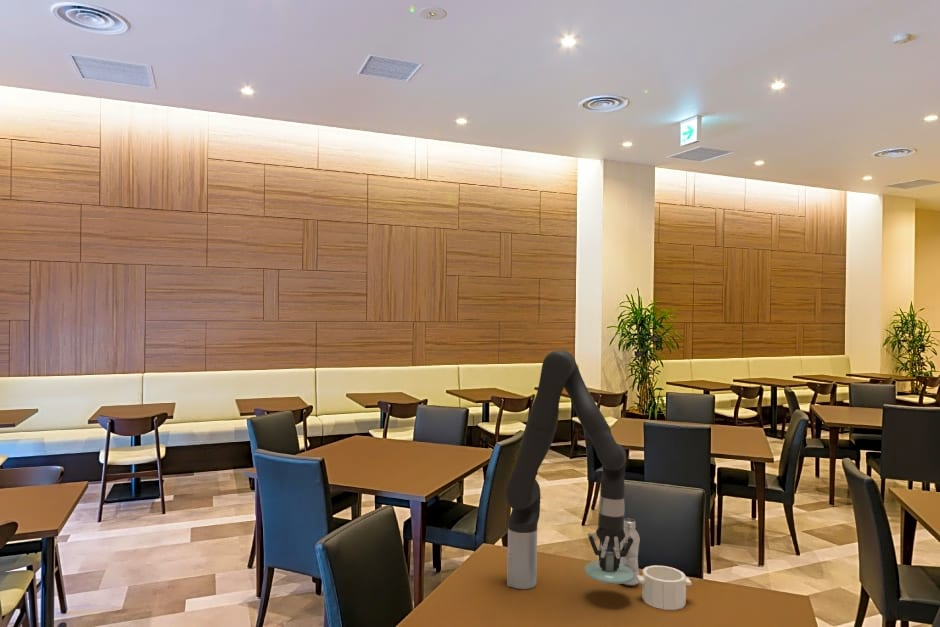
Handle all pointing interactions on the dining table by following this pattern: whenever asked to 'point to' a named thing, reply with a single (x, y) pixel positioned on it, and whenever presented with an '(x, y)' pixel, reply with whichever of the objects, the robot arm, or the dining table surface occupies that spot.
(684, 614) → the dining table surface
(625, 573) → the lid
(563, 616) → the dining table surface
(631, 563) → the plastic bottle
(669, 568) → the pot
